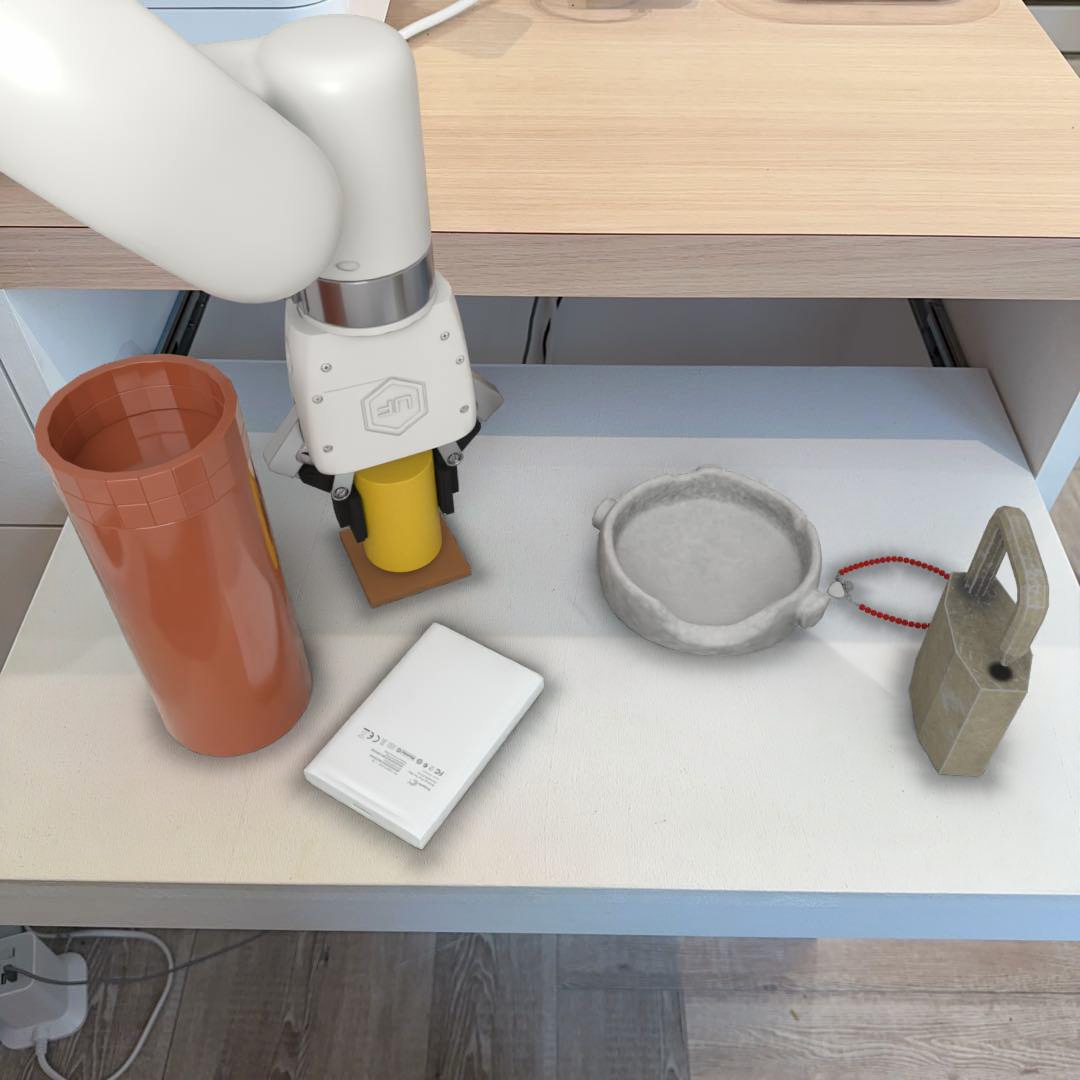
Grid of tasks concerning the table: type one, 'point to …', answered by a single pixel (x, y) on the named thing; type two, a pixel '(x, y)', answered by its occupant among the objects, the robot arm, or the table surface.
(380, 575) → the mat
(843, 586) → the necklace
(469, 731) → the hard drive
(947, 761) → the padlock
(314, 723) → the table surface
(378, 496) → the yellow cylinder
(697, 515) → the dish
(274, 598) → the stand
